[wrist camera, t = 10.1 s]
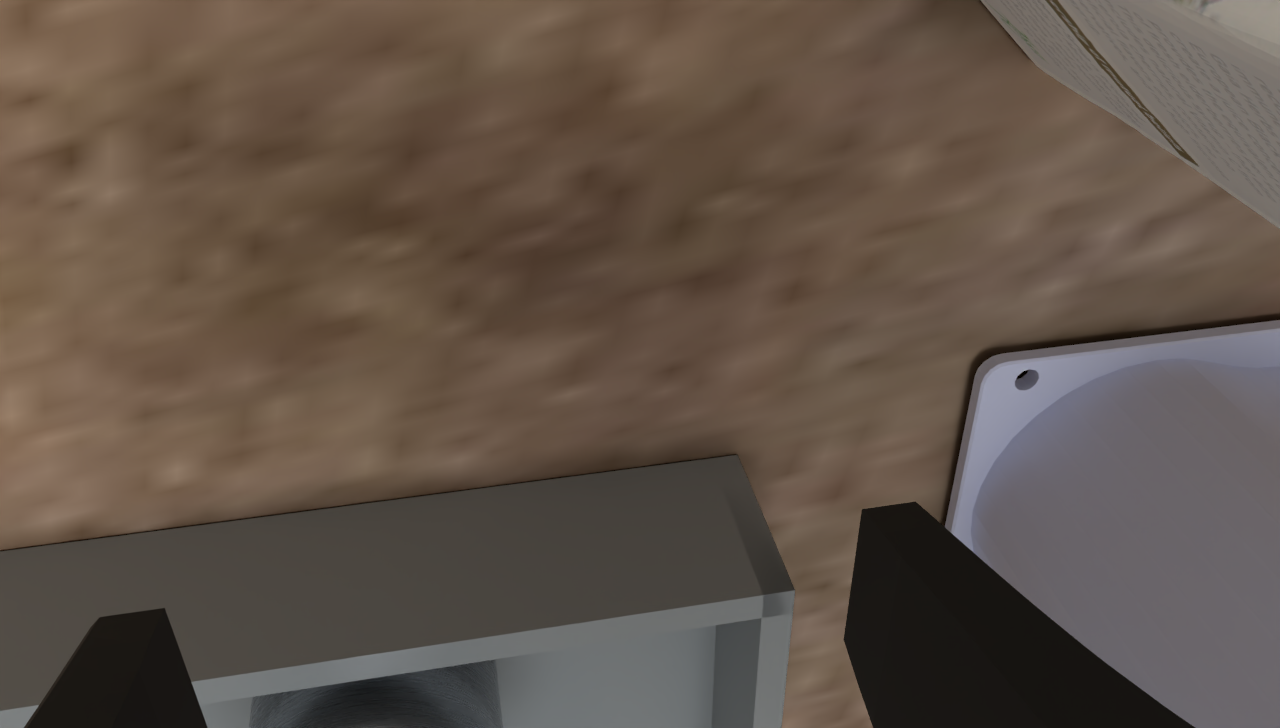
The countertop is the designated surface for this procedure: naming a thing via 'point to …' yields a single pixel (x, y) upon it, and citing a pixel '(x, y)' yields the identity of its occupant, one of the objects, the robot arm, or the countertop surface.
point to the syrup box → (1172, 77)
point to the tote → (448, 600)
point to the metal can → (390, 702)
